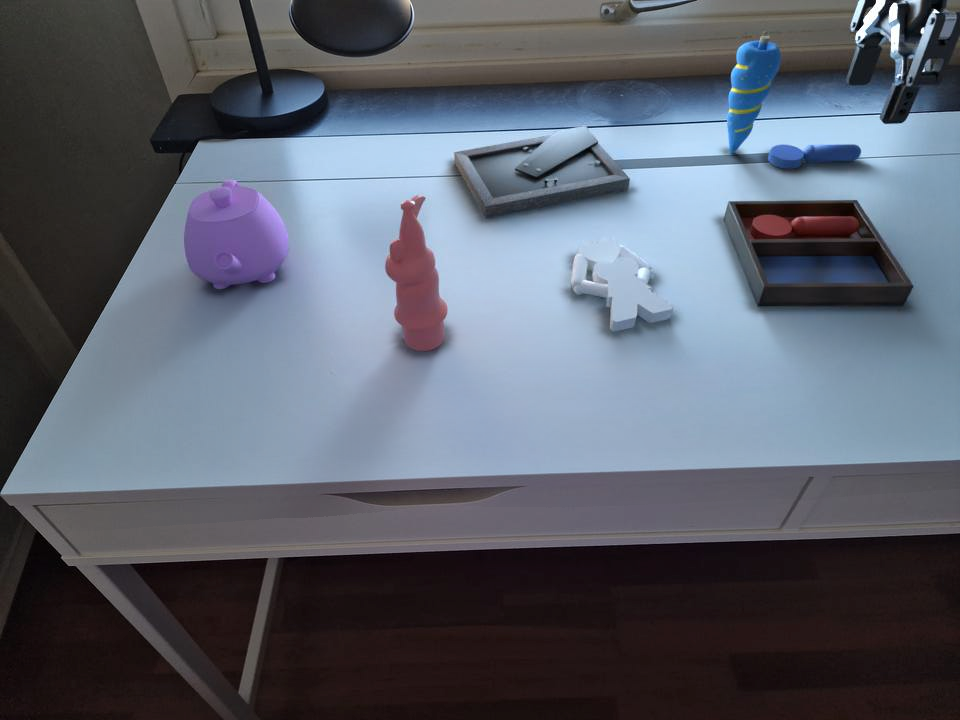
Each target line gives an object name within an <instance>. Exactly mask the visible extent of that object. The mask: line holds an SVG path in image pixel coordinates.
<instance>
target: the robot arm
mask: <svg viewBox="0 0 960 720" xmlns="http://www.w3.org/2000/svg"><path fill="white" fill-rule="evenodd" d="M947 6H948V0H858V2H857V6H856V7H855V11H854V14H853V17H852V18H851V22H850V28H849V29H850V31H851V32H856V35H855V37H854V39H855V40H854V43H855V45H856V48H855V51H854V54H853V57H852V61H851V63H850V66H849V69H848V72H847V75H846V78H845V80H846V83H847V84H848V85H849V86H866V85H868V84H869V83H870V82H871V81H872V77H873V75H874V72H875V70H876V67H877V64H878V62H879V58H880V56H881V53H882V50H883V47H882V45H883V44H884V43H885V41H887V39H888V41H889V43H890V54H889V55H890V58H891V59H892V60H893V61H894V62H895V63H894V64H895V66H894V81H893V82H892V84H891V87H890V89H889V91H888V94H887V96H886V99H885V102H884V104H883V106H882V110H881V112H880V114H879V120H880V121H881V122H882V123H883V124H884V125H899V124H903V123H905V122H906V121H907V119H908V117H909V115H910V113H911V110H912V108H913V106H914V103H915V101H916V99H917V96H918V95H919V92H920V89H921V88H922V87H938V86H940V85H941V83H942V81H943V79H944V76H945V74H946V72H947V69H948V66H949V63H950V61H951V59H952V56H953V53H954V51H955V49H956V46H957V44H958V41H959V38H960V11H950V10H948V9H947ZM869 8H871V9H870V11H868V13H867V10H868V9H869ZM866 13H867V14H866ZM865 15H866V16H865ZM917 43H918V45H916V44H917ZM881 44H882V45H881ZM910 59H912V61H911V64H910V68H909V60H910ZM932 60H935V61H934V64H933V67H932V69H931V65H932V64H931V63H932Z"/></svg>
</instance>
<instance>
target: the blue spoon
mask: <svg viewBox="0 0 960 720" xmlns="http://www.w3.org/2000/svg"><path fill="white" fill-rule="evenodd" d="M861 154H862V149H861V147H860V146H859V145H857V144H852V143H850V144H849V143H848V144H846V143H845V144H809V145H807V146H806V147H804V149H803V150H802V149H800V148H799V147H797V146H795V145H791V144H777V145H773V146H772V147H771V148H770V150H769V153H768V157H767V161H768V162H769V163H770V164H771V165H772V166H773V167H777V168H780V169H784V170H785V169H786V170H792V169H797V168H799V167H801V166H802V163H803V160H804V161H806V162H810V163H811V162H812V163H813V162H815V163H818V162H819V163H820V162H854V161H857V160H858V159H859V158H860V157H861V156H862V155H861Z"/></svg>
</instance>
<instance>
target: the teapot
mask: <svg viewBox="0 0 960 720" xmlns="http://www.w3.org/2000/svg"><path fill="white" fill-rule="evenodd" d="M183 245H184V246H183V247H184V254H185V259H186V262H187V265H188V268H189V270H190V271H191V272H192V273H193V274H194V275H195V276H196V277H198V278H200V279H202V280H204V281H207V282H209V283H212V284H213V288H215V289H216V290H217V289H218V290H224V289H226V288H228V287H230V286H231V285H241V284H247V283H251V282H255V281H257V282H258V283H262V284H268V283H270V282H272V281H274V280H275V278H276V272H277V270H279V269H280V268H281V266H282V264H283V263H284V262H285V259H286V257H287V255H288V251H289V245H290V237H289V233H288V230H287V227H286V225H285V223H284V221H283V219H282V217H281V215H280V214H279V212H278V211H277V210H276V209H275V207H274V206H273V205H272V204H271V203H270V202H269V200H267V199H266V198H265V197H264V196H263V195H262V194H261V193H260V192H258V190H255V188H251V187H248V186H240V185H239V183H238V181H236V180H234V179H226V180H224V181H223V182H222V183H221V186H219V187H216V188H213V189H211V190H207V191H205V192H202V193H200V194H198V195H197V196H196V197H195V198H194V199H193V200H192V201H191V203H190V205H189V209H188V212H187V216H186V220H185V225H184V233H183Z"/></svg>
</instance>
